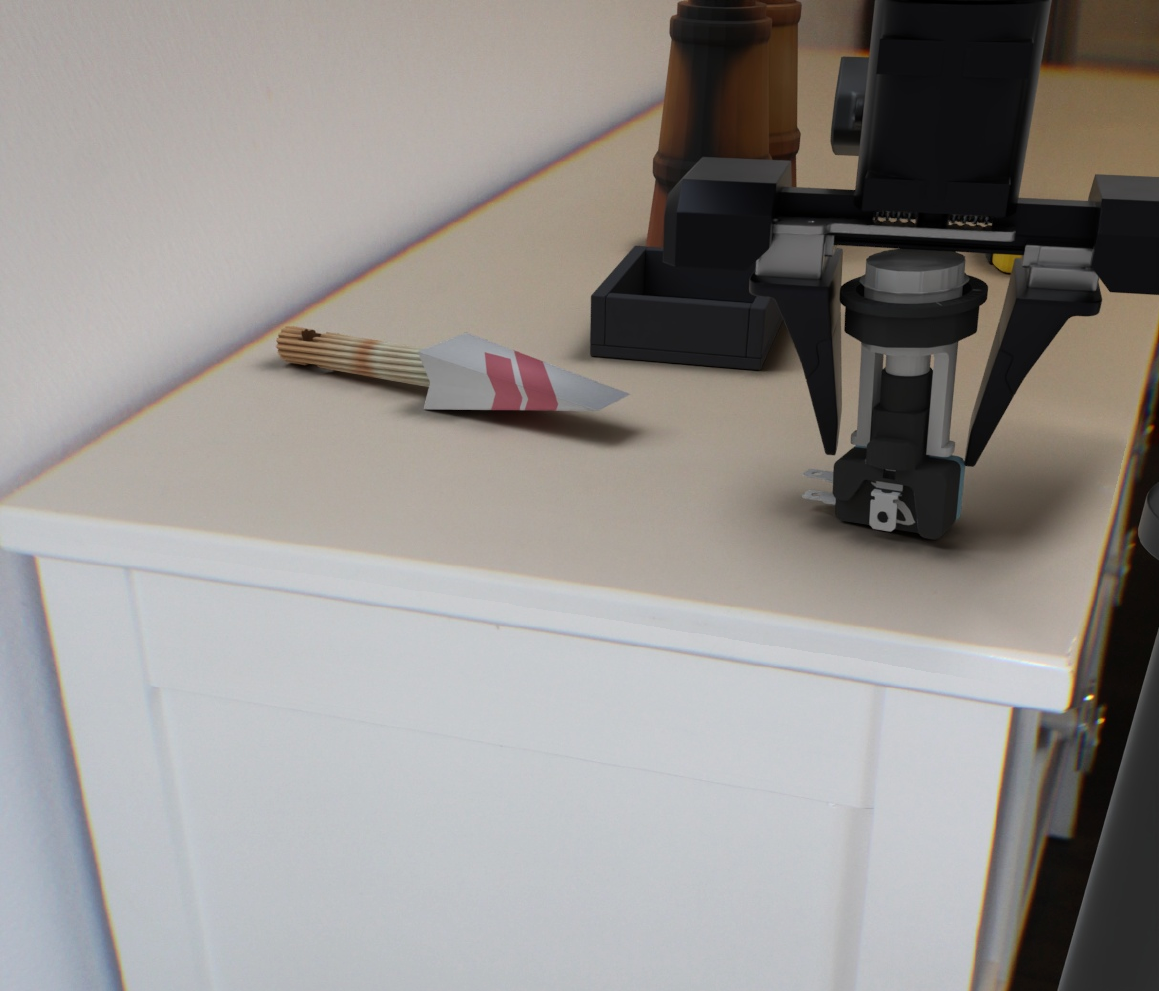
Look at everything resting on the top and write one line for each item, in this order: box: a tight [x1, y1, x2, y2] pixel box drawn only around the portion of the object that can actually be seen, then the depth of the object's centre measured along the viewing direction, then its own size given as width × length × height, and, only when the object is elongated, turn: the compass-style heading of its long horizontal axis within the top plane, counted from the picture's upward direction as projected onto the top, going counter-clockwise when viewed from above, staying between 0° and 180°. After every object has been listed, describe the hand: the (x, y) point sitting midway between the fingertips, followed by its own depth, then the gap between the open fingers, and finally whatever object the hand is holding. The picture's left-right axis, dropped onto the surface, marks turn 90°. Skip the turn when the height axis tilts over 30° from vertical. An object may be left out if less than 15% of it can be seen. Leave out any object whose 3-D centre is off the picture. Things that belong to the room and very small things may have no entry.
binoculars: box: [645, 0, 803, 247], centre depth 92 cm, size 18×8×20 cm, turn 162°
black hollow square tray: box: [589, 245, 784, 371], centre depth 78 cm, size 9×11×3 cm
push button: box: [801, 248, 989, 541], centre depth 55 cm, size 7×5×10 cm
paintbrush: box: [275, 325, 631, 412], centre depth 69 cm, size 4×3×20 cm
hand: (900, 457), depth 56 cm, fingers closed on push button, 5 cm apart
